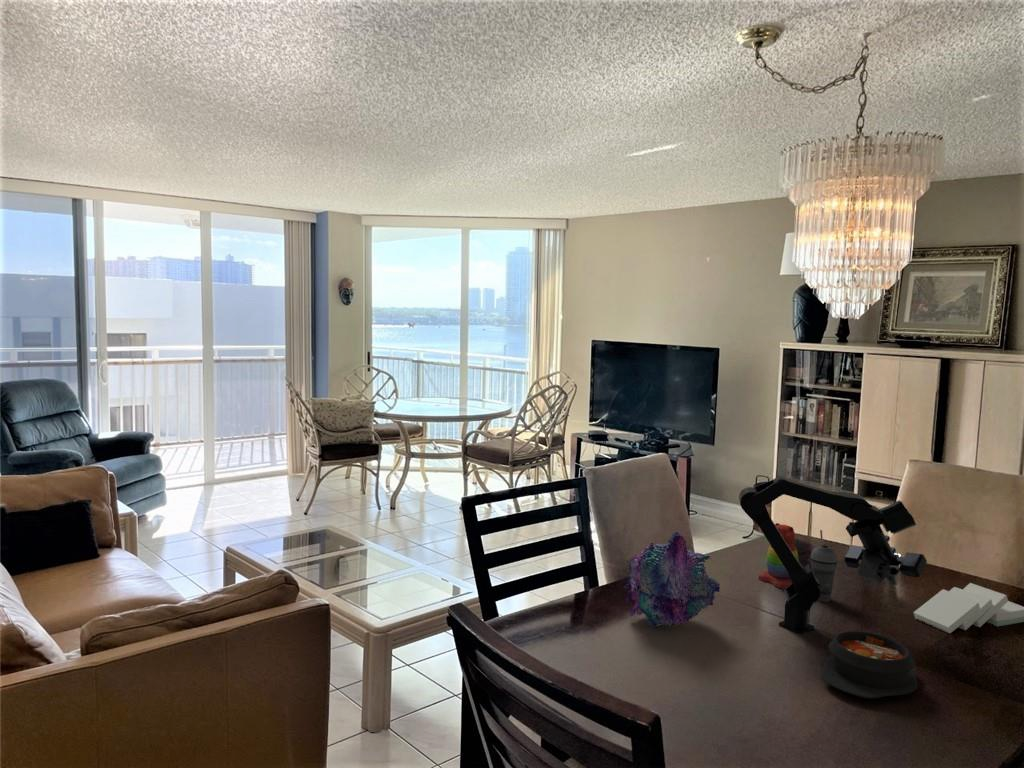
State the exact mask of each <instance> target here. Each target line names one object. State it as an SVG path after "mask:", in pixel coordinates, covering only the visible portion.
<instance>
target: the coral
mask: <svg viewBox="0 0 1024 768" xmlns="http://www.w3.org/2000/svg"><path fill="white" fill-rule="evenodd" d="M710 558H711V556H710V554H707V553H706V554H703V553H701V552H695V551H693V552H692V550H689V549H688V547H687V539H685V537H684V535H683V534H682V532H680V531H677V530H676V531H674V532H673V533H671V536H670V537H669V539H668V541H667V542H666V543H660V544H659V543H656V544H655V545H654V542H650V544H649V545H648V547H644V549H643V550H642V551H641V552H640V554H635V555H634V556H633V557H631V559H630V561H629V564H628V565H629V569H628V570H629V571H628V575H627V581H626V585H625V586H623V589H625V590H628V591H627V597H626V598H625V602H626V603H629V601H630V602H635V603H634V604H633V606H631V608H630V609H629V610H628V614H629V615H630V617H633V616H635V613H636V614H637V615H638V616H642V614H644V616H645V617H646V621H647V622H648V623H647V624H648V625H649V626H650V627H653V628H656V627H659V626H665V627H672V626H673V625H675V626H678V625H681V624H683V623H689V621H690V620H692V619H693V618H695V617H696V616H698V615H699V613H700V612H701V611H702V609H703V610H704V609H705V610H706V608H707V607H709V606H713V605H714V601H715V598H716V596H715V593H716V592H717V593H720V592H721V591H720V588H721V586H720V585H721V583H720V582H718V581H717V580H716V579H715V578H713V577H709V574H707V573H708V572H707V571H706V566H705V563H706V561H708V560H709V559H710ZM659 624H660V625H659Z"/></svg>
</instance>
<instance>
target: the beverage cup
mask: <svg viewBox="0 0 1024 768" xmlns="http://www.w3.org/2000/svg"><path fill="white" fill-rule="evenodd" d="M819 531H820V532H819V535H820V545H818V546H816V547H814V549H813V550H812V551H811V554H810V557H809V559H810V566H811V571H812V573H813V574H814V575H815V576H816V577H817V579H818V581H819V583H820V585H821V586H818V587H819V589H820V591H821V594H820V597H819V599H818V600H817V601H818V602H825V603H826V602H830V601H831V597H832V592H833V585H834V578H835V572H836V568H837V565H838V562H839V561H838V556H837V553H836V551H835V550H834V549H833V548H832V547H830V546H829V545H825V544H824V541H823V529H820V530H819Z"/></svg>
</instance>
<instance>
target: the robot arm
mask: <svg viewBox="0 0 1024 768" xmlns="http://www.w3.org/2000/svg"><path fill="white" fill-rule="evenodd" d="M783 495H785V496H788V497H791V498H795V499H799V500H802V501H805V502H809V503H812V504H816V505H819V506H823V507H826V508H829V509H831V510H833V511H834V512H837V513H839V514H840V515H842V516H845V517H846V518H848V519H851V520H852V521H850V522H848V524H847V525H846V526H845V530H846V532H847V534H848V535H849V536H850V537H851V538H852V537H855V536H857V537H858V538H859V540H860V542H861V544H862V546H861V545H853V544H852V545H851V546H850V547H849V549H848V550H847V552H846V554H845V556H844V562H845V565H846V566H847V567H848V568H853V569H858V572H857V573H858V575H859V576H860V577H861V578H862V579H863V580H864V581H866V582H872V583H877V584H880V583H882V582H883V581H884V580H885V579H886V580H887V581H889V583H890V584H892V585H893V586H897V585H898V584H899V575H900V573H901V574H902V575H904V576H905V577H911V578H919V577H921V574H922V573H923V571H924V568H925V566H926V564H927V563H928V560H927V559H926V556H925V554H924V553H923V554H922V553H917V552H909V551H907V552H905V555H904V556H903V557H902V555H901V554H900V553H896V552H897V550H896V548H895V547H893V546H891V545H890V543H889V542H890V540H891V537H890V535H886V534H885V533H884V530H885V532H886V533H889V532H890V533H891V534H893V535H895V534H897V533H901V532H903V531H906V530H908V529H910V528H912V527H916V525H917V524H916V521H915V519H914V517H913V515H912V514H911V513H910V512H909V510H908V509H907V508H906V506H905V505H904V503H903V502H902V500H896V501H894V502H893V503H892V504H889V505H887V506H885V507H882V508H880V509H879V508H878V507H877V506H876V505H873V504H871V503H869V502H868V501H867V500H866V499H865V498H864V497H863V496H862V495H861V494H859V493H853V492H845V491H831V490H826V489H823V488H820V487H816V486H813V485H809V484H805V483H802V482H798V481H796V480H791V479H789V478H786V477H784V476H776V477H775V478H773V479H771V480H769V481H766V482H763V483H760V484H758V485H755V486H754V487H747V486H746V487H745V488H743V489H742V490H741V491H740V492H739V495H738V500H739V504H740V507H741V509H742V511H743V512H744V513H745V514H746V515H747V516H748V517H749V518H750V519H751V520H752V522H754V523H755V524H756V525H757V526H758V527H759V529H760V531H761V532H762V534H763V535H764V537H765V538H766V540H767V541H768V543H769V546H770V545H771V546H772V548H773V549H774V551H775V553H776V554H777V556H778V557H779V559H780V561H781V562H782V564H783V565H784V567H785V568H786V570H787V572H788V574H789V576H790V579H791V581H792V584H791V585H789V586H788V587H787V588H785V589H783V590H784V594H785V597H786V601H785V603H784V613H783V615H784V616H783V617H784V618H783V620H782V621H778V625H779V626H781V627H783V628H785V629H788V630H790V631H793V632H795V633H797V634H803V633H805V632H808V631H811V630H813V629H815V625H812V624H810V616H811V609H812V607H813V604H814V603H815V602H817V601H818V599H819V597H820V594H821V591H820V589H819V587H818V586H821V585H820V583H819V581H818V579H817V577H816V576H815V575H814V574H813V573H812V568H811V567H810V565H809V564H806V565H805V566H804V565H802V564H801V563H800V561H799V562H798V560H797V559H796V557H795V556H794V554H793V552H792V551H791V549H790V548H789V546H788V545H787V543H786V541H785V540H784V538H783V537H782V535H781V533H780V532H779V530H778V529H777V527H776V526H775V524H776V523H775V522H774V520H773V519H772V518H771V516H770V513H769V511H768V509H767V505H769V504H771V503H772V502H774V501H775V500H776V499H778V498H780V497H782V496H783ZM853 521H854V522H853ZM881 526H882V527H883V529H884V530H883V529H882V527H881ZM859 562H860V563H859ZM899 572H900V573H899Z"/></svg>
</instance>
